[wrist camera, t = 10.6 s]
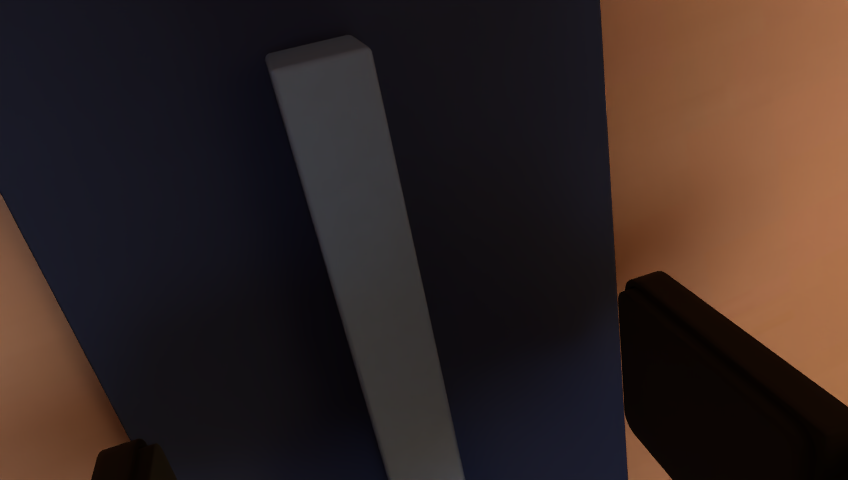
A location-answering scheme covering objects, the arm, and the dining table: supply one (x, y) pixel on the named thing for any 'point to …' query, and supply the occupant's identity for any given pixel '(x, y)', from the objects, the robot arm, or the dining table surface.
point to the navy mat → (295, 234)
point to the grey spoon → (368, 249)
